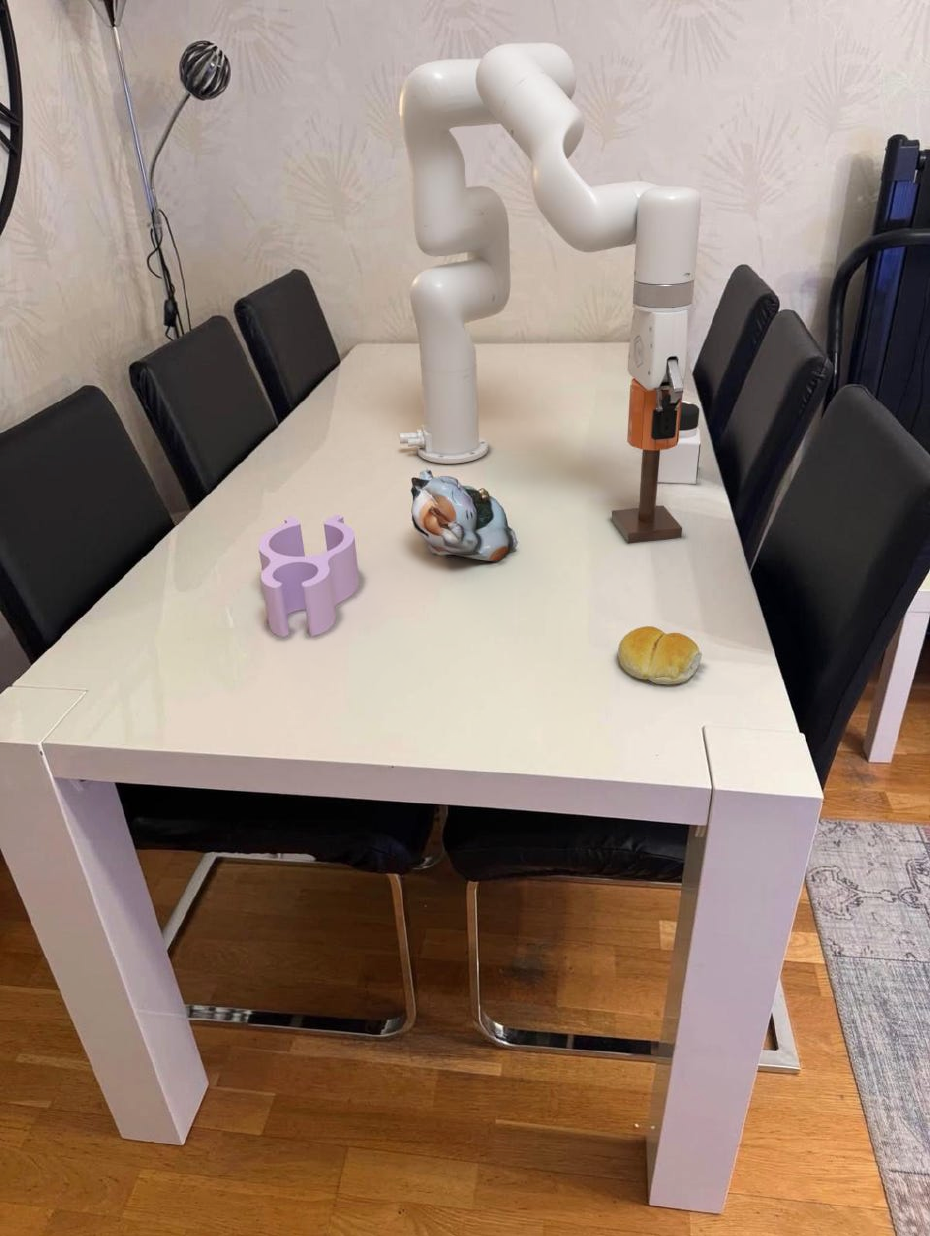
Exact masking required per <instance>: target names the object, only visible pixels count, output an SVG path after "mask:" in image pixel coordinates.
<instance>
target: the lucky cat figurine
mask: <svg viewBox="0 0 930 1236" xmlns="http://www.w3.org/2000/svg"><path fill="white" fill-rule="evenodd" d="M410 481H411V488H410V492H411V493H410V494H411V495H412V504H411V509H410V512H411V522H412V525H413V528H414V529H415V531H416V532H417V534H419V536H421V538H422V539H424V541H426V543H427V547H428V549H429V552H430V554H431V555H438V556H446V555H455V556H458V557H465V558H469V559H474V560H477V561H478V560H479V561H488V562H491V563H498V562H499V561H501V560H502V559H503V558H505V557H506V556H507V555H508V554H509V553H510V552H511V551H512V549H514V548H517V547H518V545H519V541H518V539H517V535H516V532H515V530H514V529H513V528H511V527H510V526H509V523H508V522H509V521H508V518H507V514H506V512H505V509H504V507H503V506H502V504H500V502H499V501H498V500H497V499H496V498H495V497H494V496H492V495H490V493H489V491H488V490H486V489H485V488H484V487H481V488H479V489H477V488H475V487H473V486H471V485H462V483H460V482H459V480H458V479H457V478H455V477H453V476H450V475H441V476H435V477H434V476H433V473H432V470H431V469H423V470H421V471H419V477H415V476H414V477H412V478H411V479H410Z"/></svg>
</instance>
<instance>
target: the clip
mask: <svg viewBox="0 0 930 1236" xmlns="http://www.w3.org/2000/svg"><path fill="white" fill-rule="evenodd" d="M283 520H284V523H283V524H281V525H278V526H275V527H274V528H272V529H270V530H268V531H266V532H265V533H264V534H263V535H262V536H261V537H260V539H258V542H257V548H258V553H259V554H258V555H259V560H260V565H261V570H262V572H261V574H260V581H261V586H262V591H263V592H262V593H263V598H264V603H265V604H264V605H265V609H266V614H267V620H268V624H269V625H268V627H269V629H270V631H271V632H272V633H273V634H274V635H276V636H279V637H281V638H285V637H288V636H289V635H290V632H291V631H290V627H289V620H288V615H289V614H292V613H295V612H298V611H305V614H306V621H307V628H308V629H307V630H308V634H309V636H311V637H315V636H319V635H322V634H323V633H325V632H327V631H329V629H331V628H332V627H333V626H334V624H336V620H337V613H336V606H338V605H339V604H340V603H342V602H344V601H345V600H347V599H349V598H350V597H352V596H353V595H354V594H355V593H356V592H357V590H358V589H359V586H360V574H359V573H360V572H359V565H358V555H357V547H356V538H355V537H356V536H355V532H354V530H353V529H352V527H350V526H349V525H347V524H346V523H344V515H341V514H335V515H333V516H331V517H329V518H327V519H326V520H325V521H323V529H324V536H325V543H326V544H325V545H326V551H325V552H321V553H318V554H314V555H307V556H306V553H305V545H304V539H303V532H302V527H301V521H300V520H299V519H298V518H297V517H295V516H293V515H292V516H291V515H290V516H286V517H285V518H284V519H283Z"/></svg>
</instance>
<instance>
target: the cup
mask: <svg viewBox="0 0 930 1236" xmlns="http://www.w3.org/2000/svg"><path fill="white" fill-rule="evenodd" d="M668 385H669V382H661V384H660V386H668ZM683 393H684V392H683ZM683 393H682V395H681V397H680V399H681V400H680V402H679V409H678V411H677V423H676V435H675V437H674V438H669V439H659V440H654V439H653V438H652V437H651V432H652V417H653V410H656V403H655V388H654V389H653V390H650V391H649V390H647V389H646V388H645V387H643V386H642V385H641V384H640V383H639V382H638V381H636V380H635V379H634V378H633V377H632V379H631V380H630V385H629V401H628V417H627V418H628V420H627V421H628V422H627V437H626V438H627V439H626V442H627V443H628V445H630V446H631V447H633V448H636V449H639V450H642V451H643V450H653V451H654V450H655V451H656V450H666V449H670V448H672V447H675V446H676V445H677V443H678V441H679V429H680V417H681V406H682V401H683ZM666 394H669V391H662V400H663V398H664V396H665V395H666Z"/></svg>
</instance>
